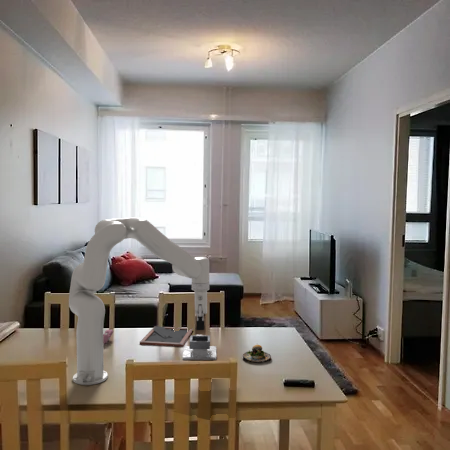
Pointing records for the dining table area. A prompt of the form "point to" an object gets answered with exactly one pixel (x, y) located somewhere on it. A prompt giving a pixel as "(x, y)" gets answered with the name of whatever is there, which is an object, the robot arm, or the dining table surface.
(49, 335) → the dining table surface
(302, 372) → the dining table surface
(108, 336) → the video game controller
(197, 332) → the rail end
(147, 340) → the picture frame
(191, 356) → the cup bracket
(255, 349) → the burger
